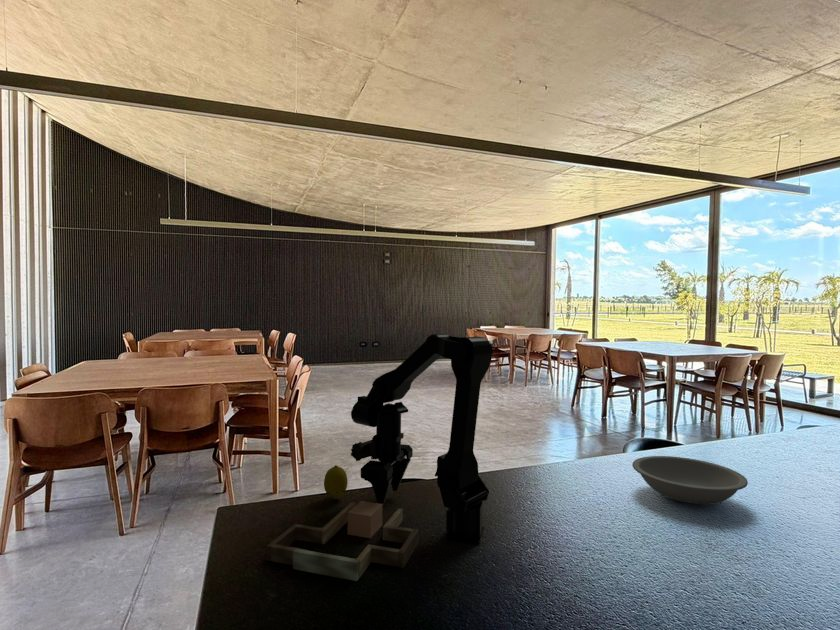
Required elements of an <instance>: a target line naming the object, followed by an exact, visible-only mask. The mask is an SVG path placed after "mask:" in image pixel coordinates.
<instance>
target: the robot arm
mask: <svg viewBox="0 0 840 630" xmlns="http://www.w3.org/2000/svg"><path fill="white" fill-rule="evenodd" d="M493 351H494V347H493V345H492V344H491V342H490V341H489V339H487V338H486V337H484V336H462V337H458V336H453V335H448V334H446V333H438V334H437V333H434V334H430V335H428V336H427V337H426V339H425V340H424V342H423V343H422V344H421V345H420V346H419V347H418V348H416V349H415V350H414V351H413V352H412V353H411V354H410V355H409V356H408V357H406V359H405V360H404V361H403V362H402V363H400V364H399V365H398V366H397V367H396V368H394V369H393V370H391V371H388V372H385V373H383V374H381V375H380V376H378V377H377V378H375V379H374V380H373V381H372V384H371V385H372V387H371V388H370V390H369V392H368V394H367V395H366V396H365V395H362V396H358V397H357V402H355V403H354V405H353V407H352V410H350V417H351V419H352V422H353V423H355V424H358V425H362V426H367V427H370V428H376V429H375V430H376V432H375V433H376V434H375V435H373V437H372V438H371V439H370V440H367V441H363V442H362V441H359V442H358V443H356V442H355V443H354V444H352V446H351V448H350V450H351V453H350V456H351V457H353V459H355V461H356V462H359V461H361V460H364V459H367V458H370V459H371V460H369V461H367V462H366V463H365V464H363V465H362V466H361V468H360V478H361V479H364V481H367V482H369V483H370V484H371V486H372V489H373V492H374V495H375V498H376V499H375V500H376V503H379V504H382V507H383V506H384V504H385V501H386V499H387V495H388V492H389V490H390V488H391V489H392V491H395V492H397V491H398V489H399V487H400V485H401V482H402V480H403V478H404V475H405V473H406V471H407V469H408V466H409V464H410V463H411V458H412V457H413V449H414V448H413V447H412V446H411V445H410V444H405V443H404V444H402V440H403V439H404V437H405V434H404V432H402V414H405V413H408V412H409V409H408V408H407V406H405V405H404V404H403V402H402V401H398V400H401V399H403V398H404V397H405V396H406V395H407V393H408V392H410V389H411V386H412V384H413V382H414V380H416V379H417V378H418V377H419V376H420V375H422V374H423V373H424V372H425V371H426V370H427V369H428V368H429V367H430V366H432V365H433V364H434V363H435V362H436V361H437V360H439V359H440V358H441V357H442V358H445V359H449V360H450V367H451V370H452V372H453V375H454V377H455V391H454V401H453V409H452V416H451V417H452V419H451V429H450V437H449V438H450V439H449V446H448V450H447V452H446V453H444V454H441V455H439V456H437V459H436V472H435V474H434V476H435V477H436V484H437V485H436V486H437V487H438V488H439V491H440V492H439V493H440V496H441V499H442V503H443V506H444V508H447V509H446V512H445V522H446V523H445V530H446V532H447V534H446V539H447V540H451V541H456V542H457V541H458V542H465V543H471V544H480V543H481V540H482V537H483V534H484V531H485V528H484V526H483V502H486V501H487V500H488V498H489V495H490V490H489V488H488V487H487V486H486V484H485V483H484V482H483V480H482V479H481V477H480V476H479V463H478V460H477V457H476V456H475V453H474V447H475V438H476V437H475V436H476V428H477V418H478V410H479V401H480V393H481V392H480V391H481V384H482V381H483V379H484V378H485V376H486V374H487V372H488V371H489V369H490V364H491V362H492V358H493V353H494V352H493ZM394 401H398V402H395V403H392V402H394Z"/></svg>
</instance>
